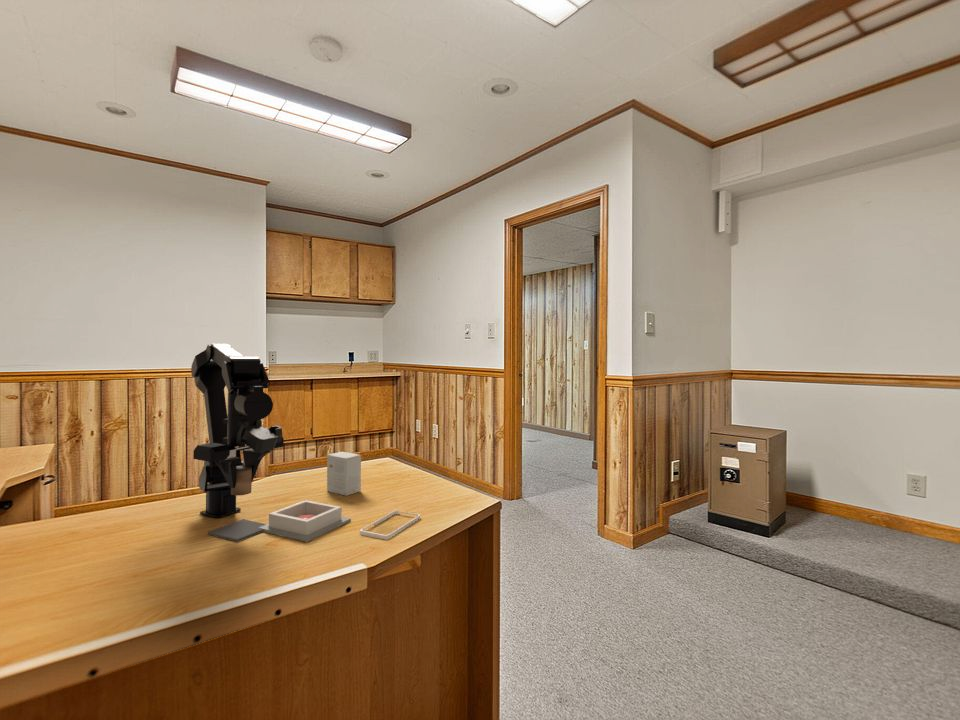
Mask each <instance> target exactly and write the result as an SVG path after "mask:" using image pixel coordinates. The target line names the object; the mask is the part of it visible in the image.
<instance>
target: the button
mask: <svg viewBox="0 0 960 720" xmlns="http://www.w3.org/2000/svg"><path fill="white" fill-rule="evenodd" d="M314 516H315V515H302V516H298V517H297V518H302V519H306V520H307V519H309V518H312V517H314Z"/></svg>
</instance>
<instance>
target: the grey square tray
mask: <svg viewBox="0 0 960 720" xmlns="http://www.w3.org/2000/svg"><path fill="white" fill-rule="evenodd" d="M302 515H315V516H314V517H312V518H309V519H307V520H306V519H302V518H297V517H298V516H302ZM350 522H351V517H345V516H342V506H338V505H332V504H328V503H322V502H316V501H313V500H306V499H305V500H302V501H299V502H297V503H294V504H291V505H288V506H286V507H283V508H280V509H278V510H274V511H273V512H270V513H268V523H265V524H266V525H264V526H261V527H258V528H260V529H263V532H262V533H268V534H271V535H276V536H281V537H285V538H289V539H293V540H298V541H302V542H306V543H308V542H310V541H312V540H314V539H316V538H318V537H320V536H322V535H325V534H327V533H329V532H331V531H333V530H335V529H337V528H339V527H341V526H343V525H345V524H348V523H350Z"/></svg>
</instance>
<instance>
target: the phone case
mask: <svg viewBox="0 0 960 720" xmlns="http://www.w3.org/2000/svg"><path fill="white" fill-rule="evenodd" d="M401 513H402V514H408V515H412V516H415V517H414V518H412V519H411V520H409V521H407V522H406V523H404V524H402V525H401V526H399V527H398V528H396V529H395V530H393V531H391V532H390V533H388V534H381V533H377V532H372V531H366V530H367V529H369V528H370V527H372V526H377V525H379V524H381V523H382V522H384V521H386V520H388V519H389V518H391V517H393V516H394V514H395V515H398V514H399V515H400V514H401ZM392 515H393V516H392ZM387 518H388V519H387ZM418 519H419V520H420V519H421V514H419V513H413V512H408V511H401V510H393V511H391V512H389V513H388V514H386V515H384V516H382V517H380V518H379V519H377V520H375V521H373V522H372V523H370V524H368V525H366V526H364V527H362V528H360V530H359V535H360V536H361V535H362V536H365V537H371V538H375V539H382V540H385V539H386V540H390V539H391V538H392V536H393V537H394V536H395V534H396V535H397V534H399V533H400V532H402V531H403V529H404V530H405V529H406V527H407V528H408V527H410V526H412V525H413V524H414V523H416V522H418V521H419V520H418ZM415 521H416V522H415ZM412 523H413V524H412ZM409 525H410V526H409ZM398 532H399V533H398Z"/></svg>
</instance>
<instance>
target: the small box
mask: <svg viewBox="0 0 960 720" xmlns="http://www.w3.org/2000/svg"><path fill="white" fill-rule="evenodd" d="M326 456H327V457H326V461H327V462H326V463H327V464H326V468H327V469H326V491H327V492H328V491H329V492H328V493H333V494H337V495H341V496H349V495H353V494H355V493H359V492H361V491H362V455H361V454H357V453H352V452H346V451H339V452H334V453H329V454H327V455H326Z"/></svg>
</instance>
